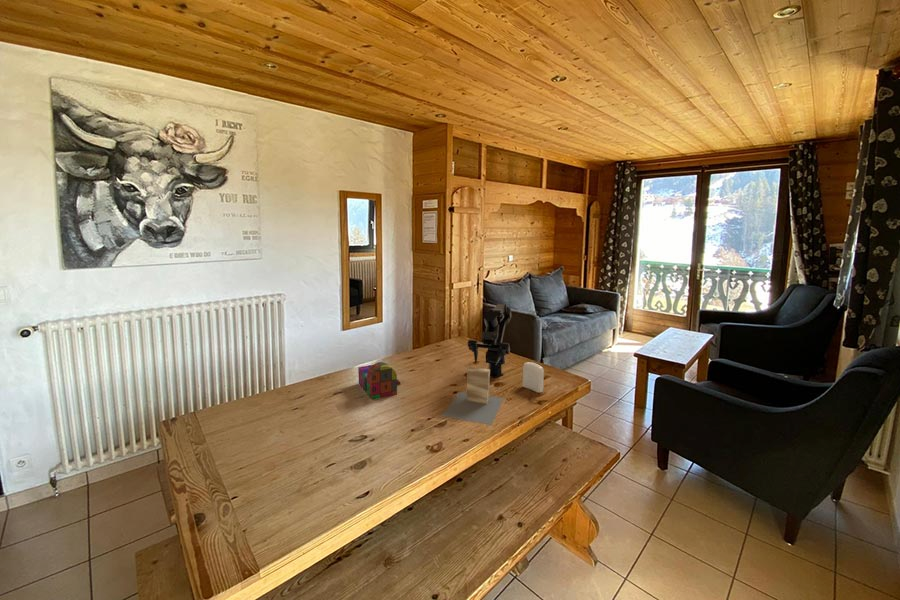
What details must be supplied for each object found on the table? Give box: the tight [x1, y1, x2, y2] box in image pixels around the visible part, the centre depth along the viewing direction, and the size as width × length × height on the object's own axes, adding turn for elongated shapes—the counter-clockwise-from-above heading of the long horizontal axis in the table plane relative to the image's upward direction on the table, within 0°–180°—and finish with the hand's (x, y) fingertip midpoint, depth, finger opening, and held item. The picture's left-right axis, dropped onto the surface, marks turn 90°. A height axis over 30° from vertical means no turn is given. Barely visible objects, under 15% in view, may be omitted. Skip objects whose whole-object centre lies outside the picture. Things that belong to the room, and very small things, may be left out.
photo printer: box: [522, 361, 545, 394], centre depth 185 cm, size 10×4×12 cm, turn 39°
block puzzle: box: [357, 361, 401, 400], centre depth 187 cm, size 25×17×14 cm
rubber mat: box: [441, 391, 504, 426], centre depth 166 cm, size 24×20×1 cm
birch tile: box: [466, 366, 491, 404], centre depth 171 cm, size 3×9×14 cm, turn 72°
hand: (485, 363), depth 179 cm, fingers open, 9 cm apart
